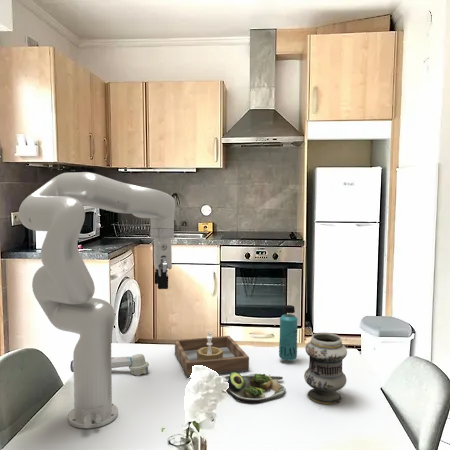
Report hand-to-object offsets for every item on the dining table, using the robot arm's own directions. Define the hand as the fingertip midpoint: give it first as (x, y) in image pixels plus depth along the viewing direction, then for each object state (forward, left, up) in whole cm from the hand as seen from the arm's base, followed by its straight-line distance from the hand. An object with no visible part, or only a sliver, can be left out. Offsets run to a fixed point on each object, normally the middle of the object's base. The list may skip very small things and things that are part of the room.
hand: (161, 286), depth 141 cm
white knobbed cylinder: (+6, +16, -30) cm, 34 cm away
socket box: (+5, -18, -29) cm, 35 cm away
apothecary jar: (-29, -44, -29) cm, 60 cm away
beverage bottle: (-1, -45, -29) cm, 54 cm away
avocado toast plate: (-19, -25, -30) cm, 43 cm away
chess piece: (+5, -18, -28) cm, 34 cm away
